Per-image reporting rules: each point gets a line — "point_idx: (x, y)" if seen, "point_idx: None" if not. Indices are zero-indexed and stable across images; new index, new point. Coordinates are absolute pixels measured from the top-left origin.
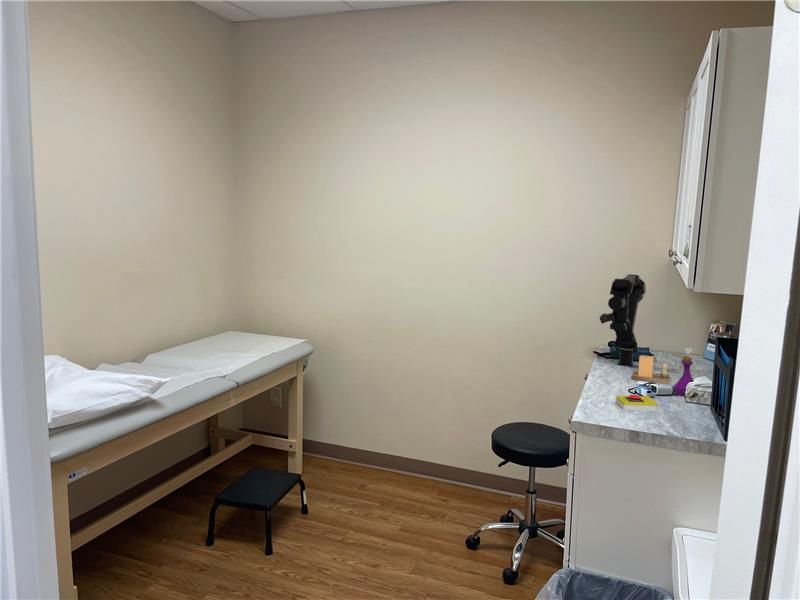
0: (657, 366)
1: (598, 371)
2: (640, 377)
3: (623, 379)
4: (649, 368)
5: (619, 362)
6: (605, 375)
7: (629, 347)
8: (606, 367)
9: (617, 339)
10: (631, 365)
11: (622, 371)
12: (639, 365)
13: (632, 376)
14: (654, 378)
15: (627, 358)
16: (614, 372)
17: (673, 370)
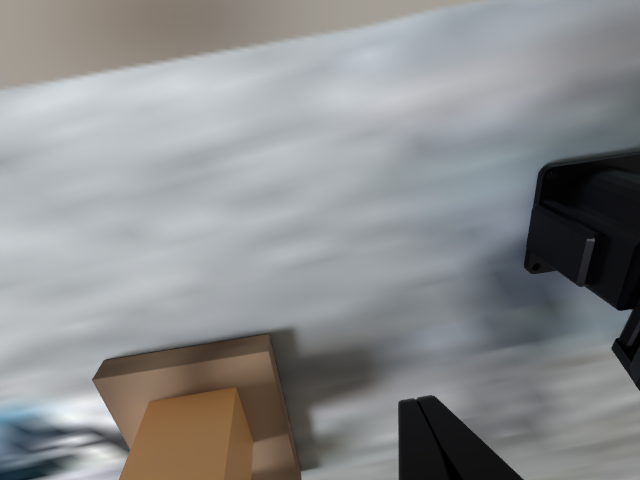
0: (582, 372)
1: (178, 91)
2: (114, 419)
3: (69, 323)
4: None
5: (582, 177)
6: (75, 189)
7: (638, 358)
8: (395, 111)
9: (400, 477)
10: (527, 267)
11: (320, 256)
12: (121, 478)
13: (95, 383)
14: None
15: (561, 268)
16: (244, 218)
17: (508, 441)
